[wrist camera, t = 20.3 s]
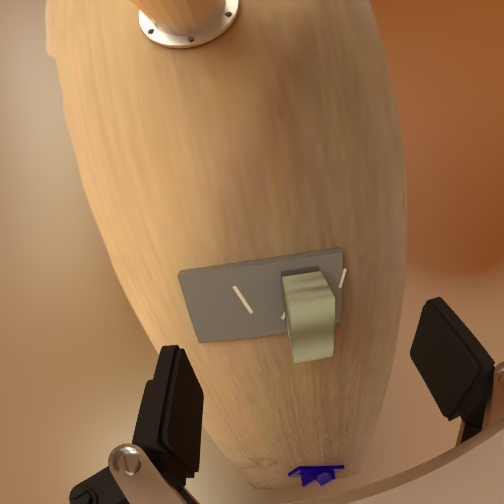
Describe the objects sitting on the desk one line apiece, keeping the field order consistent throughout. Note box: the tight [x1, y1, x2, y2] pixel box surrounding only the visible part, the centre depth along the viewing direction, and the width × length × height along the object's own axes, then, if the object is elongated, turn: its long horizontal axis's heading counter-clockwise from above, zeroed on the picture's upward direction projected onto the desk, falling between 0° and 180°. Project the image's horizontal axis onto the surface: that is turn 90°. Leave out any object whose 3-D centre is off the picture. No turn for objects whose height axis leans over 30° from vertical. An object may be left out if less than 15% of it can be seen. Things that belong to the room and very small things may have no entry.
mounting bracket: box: [288, 465, 344, 487], centre depth 67 cm, size 18×7×6 cm, turn 68°
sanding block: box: [281, 266, 335, 363], centre depth 34 cm, size 9×5×8 cm, turn 8°
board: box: [178, 248, 346, 343], centre depth 39 cm, size 12×23×2 cm, turn 98°
